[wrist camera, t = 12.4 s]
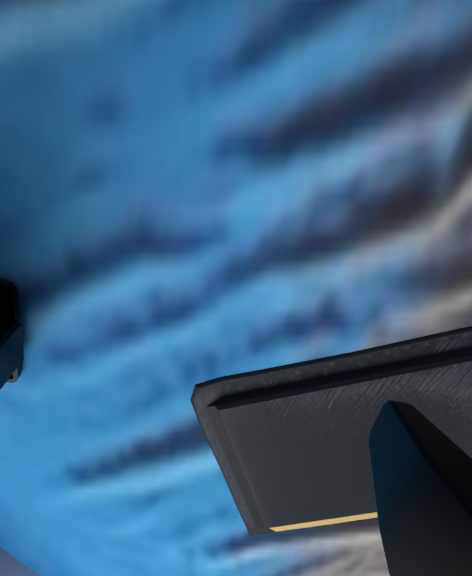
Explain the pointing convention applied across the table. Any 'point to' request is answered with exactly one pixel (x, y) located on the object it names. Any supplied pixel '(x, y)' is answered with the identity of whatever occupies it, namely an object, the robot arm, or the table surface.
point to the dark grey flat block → (327, 426)
